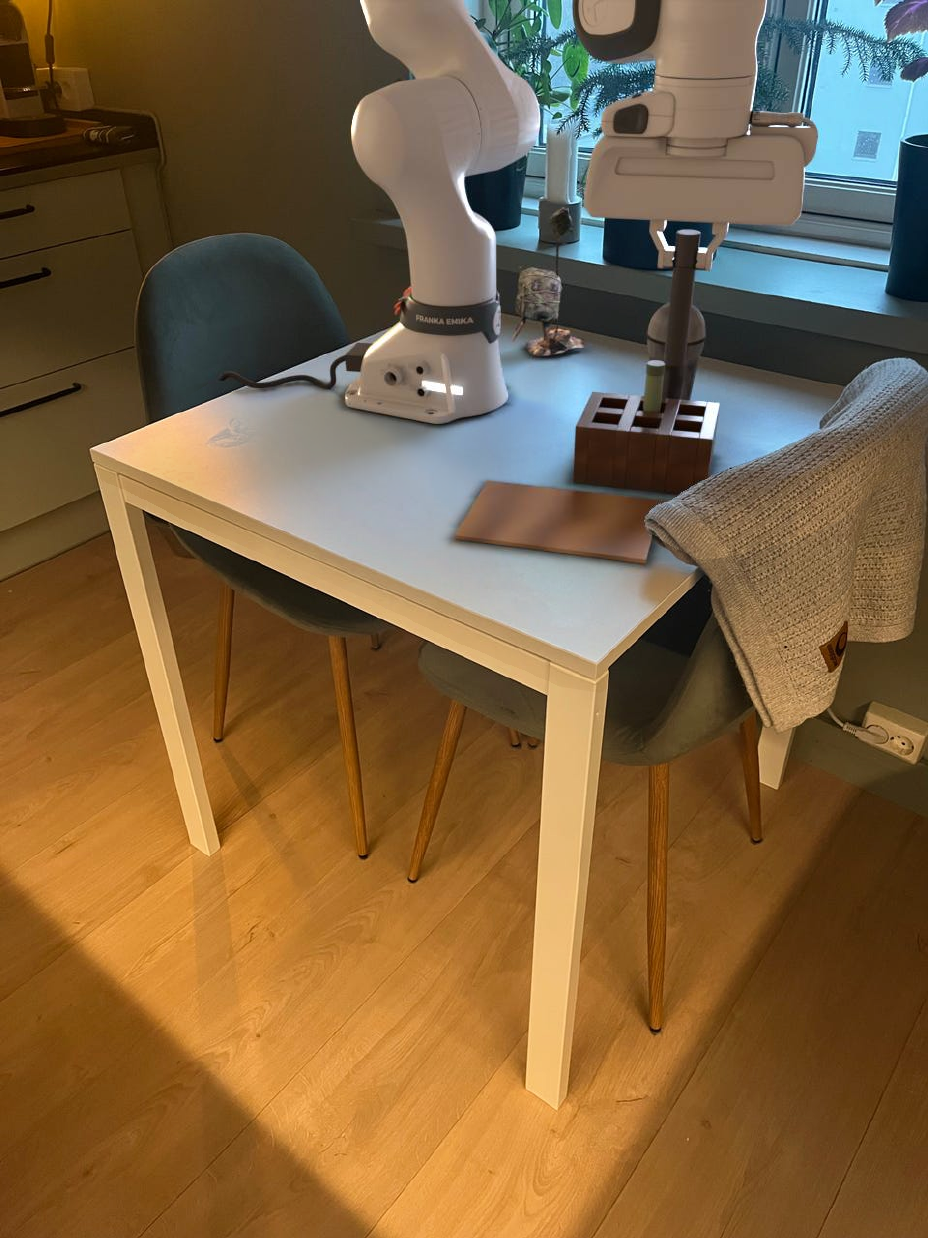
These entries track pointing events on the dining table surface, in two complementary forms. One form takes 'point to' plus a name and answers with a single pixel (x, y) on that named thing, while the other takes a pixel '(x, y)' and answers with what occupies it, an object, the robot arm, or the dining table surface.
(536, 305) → the mottled grey tall piece
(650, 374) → the sage marker
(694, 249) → the black marker
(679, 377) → the beverage cup
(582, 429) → the pen stand
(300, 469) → the dining table surface
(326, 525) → the dining table surface
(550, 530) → the brown wooden board
